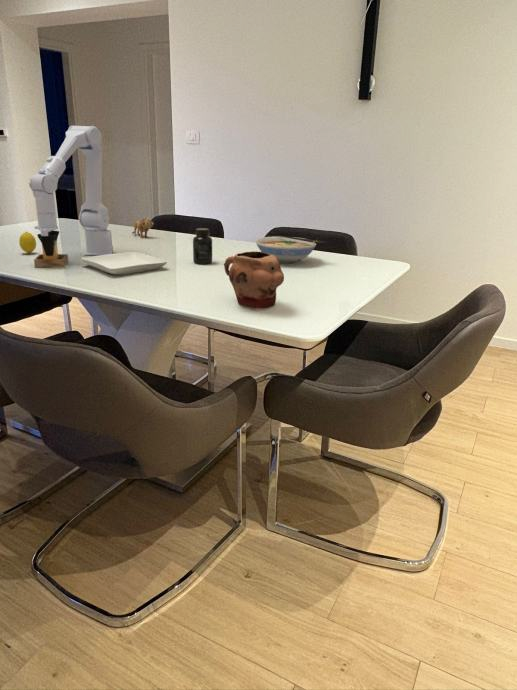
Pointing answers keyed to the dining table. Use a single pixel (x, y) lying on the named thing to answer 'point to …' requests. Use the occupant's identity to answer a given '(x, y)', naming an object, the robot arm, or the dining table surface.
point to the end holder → (51, 261)
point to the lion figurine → (142, 227)
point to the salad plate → (124, 263)
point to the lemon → (27, 242)
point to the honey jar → (55, 254)
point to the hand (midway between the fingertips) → (50, 254)
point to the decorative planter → (254, 278)
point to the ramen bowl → (287, 247)
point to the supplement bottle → (202, 247)
